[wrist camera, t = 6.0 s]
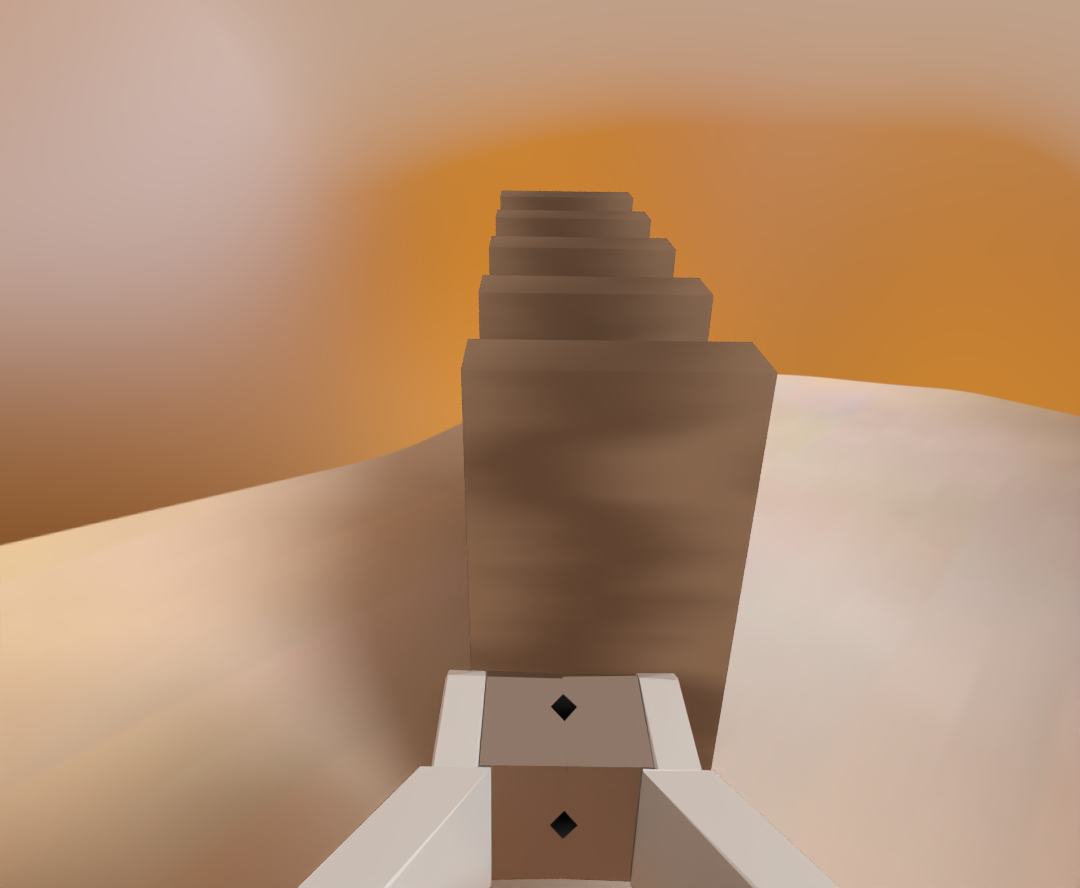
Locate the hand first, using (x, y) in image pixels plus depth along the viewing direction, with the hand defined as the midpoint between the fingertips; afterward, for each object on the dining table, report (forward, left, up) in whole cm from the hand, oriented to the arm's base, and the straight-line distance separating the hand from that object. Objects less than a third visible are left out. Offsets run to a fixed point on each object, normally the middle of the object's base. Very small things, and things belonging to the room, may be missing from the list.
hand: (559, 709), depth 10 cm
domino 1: (-1, -7, -12) cm, 14 cm away
